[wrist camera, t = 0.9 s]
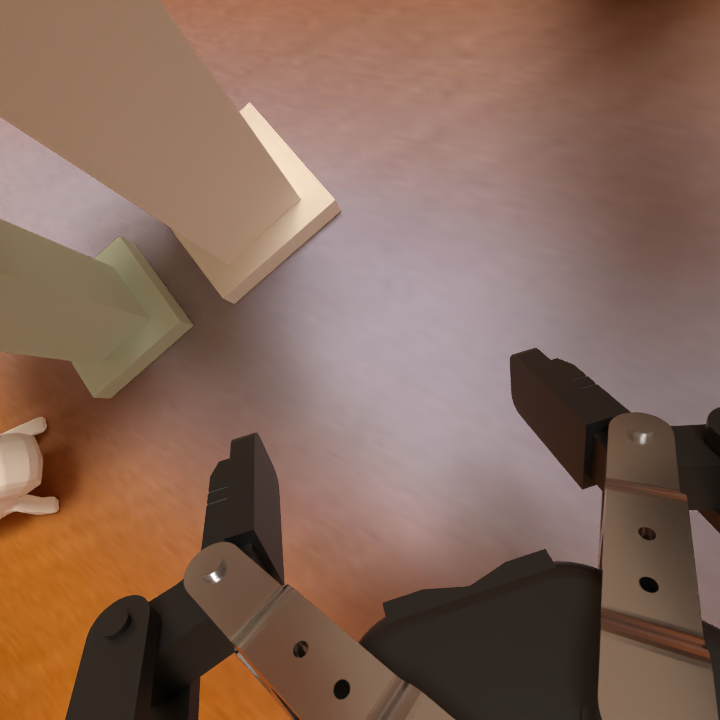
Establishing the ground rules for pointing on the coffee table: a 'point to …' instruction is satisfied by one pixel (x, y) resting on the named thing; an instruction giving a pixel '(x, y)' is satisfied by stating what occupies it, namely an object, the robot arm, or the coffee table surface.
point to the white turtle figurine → (23, 471)
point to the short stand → (85, 308)
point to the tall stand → (158, 131)
